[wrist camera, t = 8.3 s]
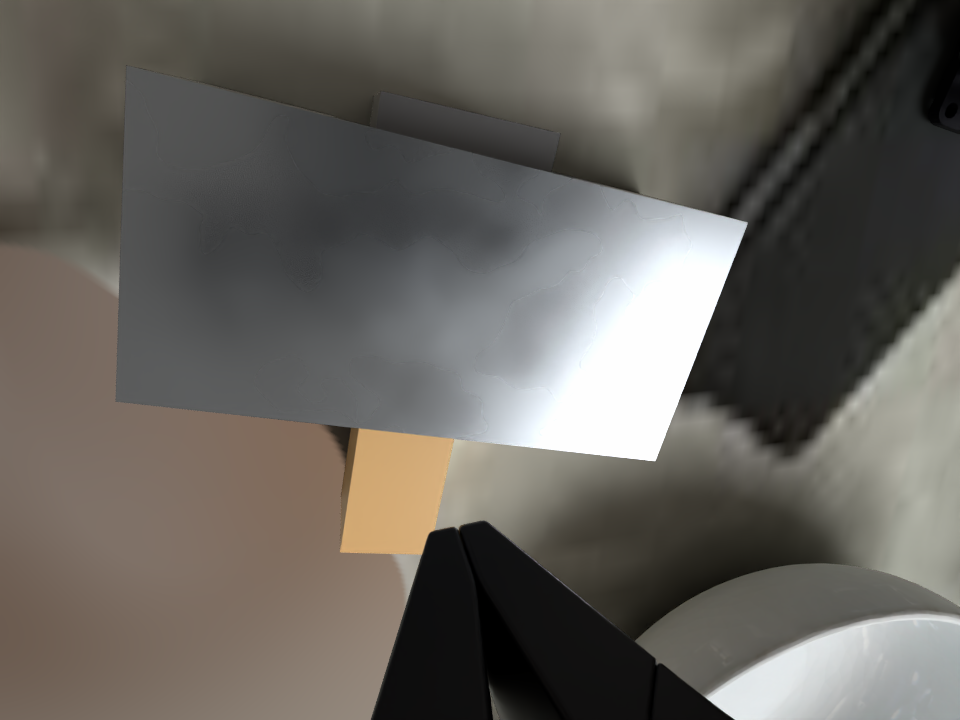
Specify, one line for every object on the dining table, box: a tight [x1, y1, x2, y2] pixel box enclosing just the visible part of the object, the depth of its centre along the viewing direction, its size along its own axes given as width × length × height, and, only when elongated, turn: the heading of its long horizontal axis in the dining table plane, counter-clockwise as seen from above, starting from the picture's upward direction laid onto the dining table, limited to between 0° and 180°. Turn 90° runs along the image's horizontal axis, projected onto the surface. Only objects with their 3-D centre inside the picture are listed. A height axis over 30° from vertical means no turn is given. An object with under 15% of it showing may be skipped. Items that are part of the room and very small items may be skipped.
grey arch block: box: [116, 65, 747, 461], centre depth 17 cm, size 14×7×6 cm, turn 76°
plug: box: [340, 91, 561, 554], centre depth 18 cm, size 4×14×4 cm, turn 167°
